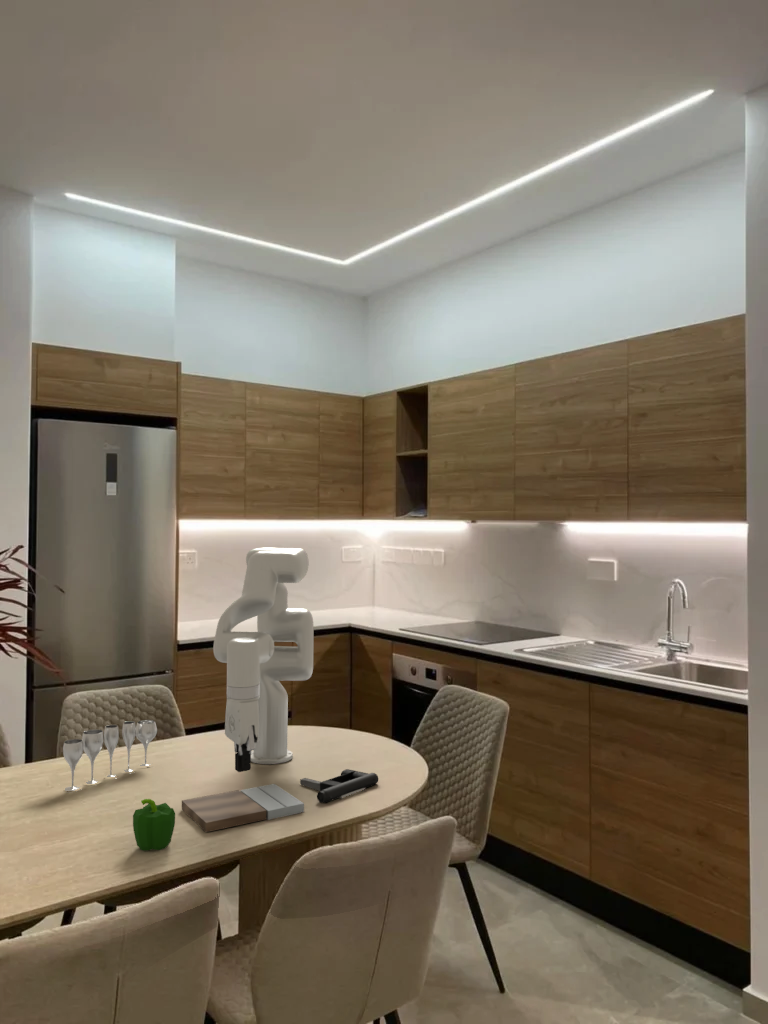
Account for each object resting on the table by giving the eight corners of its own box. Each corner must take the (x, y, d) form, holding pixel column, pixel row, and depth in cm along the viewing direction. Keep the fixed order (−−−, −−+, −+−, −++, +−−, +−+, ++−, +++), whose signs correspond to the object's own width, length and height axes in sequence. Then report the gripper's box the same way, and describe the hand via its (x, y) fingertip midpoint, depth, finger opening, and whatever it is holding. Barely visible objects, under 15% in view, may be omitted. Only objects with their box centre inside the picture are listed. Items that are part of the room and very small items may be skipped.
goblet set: (71, 794, 191) (72, 740, 191) (57, 790, 194) (57, 736, 194) (160, 765, 214) (161, 716, 214) (146, 761, 217) (147, 714, 217)
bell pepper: (177, 838, 164) (178, 790, 165) (171, 854, 156) (172, 804, 157) (136, 839, 163) (137, 791, 164) (128, 856, 155) (129, 805, 156)
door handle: (282, 781, 195) (328, 792, 184) (338, 763, 210) (383, 773, 199) (283, 795, 194) (328, 807, 184) (339, 776, 210) (384, 786, 199)
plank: (181, 809, 180) (181, 800, 180) (238, 798, 188) (238, 789, 188) (206, 832, 167) (206, 822, 167) (266, 819, 175) (266, 810, 175)
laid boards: (240, 798, 188) (240, 789, 188) (274, 791, 193) (274, 783, 193) (268, 819, 175) (268, 810, 175) (303, 811, 180) (303, 802, 180)
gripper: (215, 687, 185) (215, 763, 185) (240, 701, 172) (240, 783, 173) (245, 683, 189) (245, 758, 189) (271, 696, 176) (271, 777, 177)
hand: (242, 770), depth 181 cm, fingers closed
